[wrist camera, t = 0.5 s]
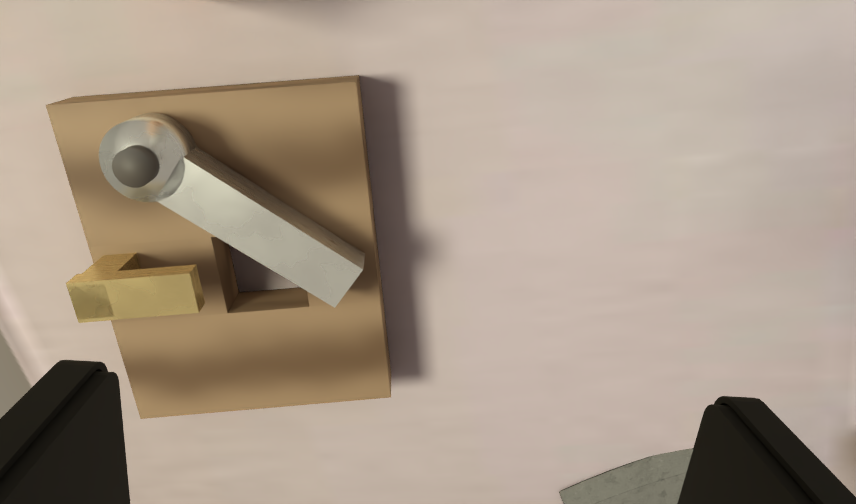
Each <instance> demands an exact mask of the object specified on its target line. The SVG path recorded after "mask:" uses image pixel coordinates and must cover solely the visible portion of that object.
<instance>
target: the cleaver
mask: <svg viewBox="0 0 856 504" xmlns="http://www.w3.org/2000/svg"><path fill="white" fill-rule="evenodd" d="M692 452H693V448H692V449H686V450H680V451H675V452H670V453H664V454H659V455H655V456H651V457H647V458H644V459H641V460H638V461H635V462H632V463H629V464H627V465H624V466H621V467H618V468H616V469H613V470H610V471H608V472H605V473H603V474H600V475H598V476H595V477H593V478H591V479H588V480H586V481H583V482H581V483H579V484H576V485H574V486H572V487H569V488H567V489H565V490H562V491H560V492H559V493H560V496H561V498H562V501H563V503H564V504H677V503H678V500H679V496H680V493H681V490H682V486H683V483H684V479H685V476H686V472H687V469H688V465H689V462H690V459H691V455H692Z"/></svg>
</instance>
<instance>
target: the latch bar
mask: <svg viewBox="0 0 856 504" xmlns="http://www.w3.org/2000/svg"><path fill="white" fill-rule="evenodd" d="M132 145H141V146H144V147H147V148H148V149H150V150H151V151H152V152H153V153H154V154H155V155H156V156H157V158H158V161H159V165H160V168H159V173H158V175H157V176H156V177H155V178H154V179H153V180H152V181H150V182H149V183H148V184H146V185H145V186H142V187H139V188H132V187H128V186H126V185H124V184H122V183H121V182H120V181H119V180H118V179H117V178H116V177H115V175H114V173H113V170H112V161H113V158H114V157H115V155H116V154H117V153H119V152H120V151H122V150H124V149H126V148H127V147H129V146H132ZM99 162H100V166H101V170H102V172H103V174H104V176H105V178H106V179H107V181H108V182H109V183H110V184H111V185H112V187H113V188H114V189H116V190H117V191H118V192H119V193H121V194H122V195H124V196H126V197H128V198H130V199H133V200H136V201H140V202H159V203H160V204H162V205H164V206H165V207H167V208H169V209H170V210H172V211H174V212H175V213H177V214H179V215H180V216H182V217H184V218H185V219H187V220H189V221H190V222H192V223H194V224H195V225H197V226H199V227H201V228H202V229H204V230H206V231H207V232H209V233H211V234H212V235H214V236H216V237H217V238H219V239H221V240H222V241H224V242H226V243H227V244H229V245H231V246H232V247H234V248H236V249H237V250H239V251H241V252H242V253H244V254H246V255H247V256H249V257H251V258H252V259H254V260H256V261H257V262H259V263H261V264H262V265H264V266H266V267H267V268H269V269H271V270H272V271H274V272H276V273H277V274H279V275H281V276H282V277H284V278H286V279H287V280H289V281H291V282H293V283H294V284H296V285H298V286H299V287H301V288H303V289H304V290H306V291H308V292H309V293H311V294H313V295H314V296H316V297H318V298H319V299H321V300H323V301H324V302H326V303H328V304H329V305H331V306H333V307H334V308H335V307H336V306H337V304H338V303H339V302H340V300H341V299H342V298H343V296H344V295H345V294H346V292H347V291H348V289H349V288H350V287H351V285H352V284H353V283H354V281H355V280H356V279H357V277H358V276H359V275H360V273H361V272H362V271H363V267H364V259H365V253H363V252H362V251H360V250H358V249H357V248H355V247H354V246H352V245H351V244H349V243H347V242H346V241H344V240H343V239H341V238H339V237H338V236H336V235H335V234H333V233H332V232H330V231H328V230H327V229H325V228H324V227H322V226H321V225H319V224H317V223H316V222H314V221H313V220H311V219H310V218H308V217H306V216H305V215H303V214H302V213H300V212H298V211H297V210H295V209H294V208H292V207H291V206H289V205H287V204H286V203H284V202H283V201H281V200H280V199H278V198H276V197H275V196H273V195H272V194H270V193H269V192H267V191H265V190H264V189H262V188H261V187H259V186H258V185H256V184H254V183H253V182H251V181H250V180H248V179H246V178H245V177H243V176H242V175H240V174H239V173H237V172H235V171H234V170H232V169H231V168H229V167H228V166H226V165H224V164H223V163H221V162H220V161H218V160H217V159H215V158H213V157H212V156H210V155H209V154H207V153H206V152H204V151H202V150H201V149H199V148H198V147H197V145H196V143H195V140H194V138H193V137H192V135H191V134H190V132H189V131H188V130H187V128H186V127H185V126H183V125H182V124H181V123H180V122H179V121H177V120H175V119H174V118H172V117H170V116H167V115H164V114H160V113H145V114H140V115H138V116H135V117H133V118H131V119H129V120H127V121H124V122H122V123H120V124H118V125H116V126H114V127H113V128H111V129H110V130H109V131H108V132H107V133H106V134H105V136H104V137H103V139H102V141H101V144H100V148H99Z"/></svg>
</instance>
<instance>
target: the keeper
mask: <svg viewBox="0 0 856 504" xmlns="http://www.w3.org/2000/svg"><path fill="white" fill-rule="evenodd" d="M66 285H67V288H68V291H69V294H70V297H71V300H72V303H73V307H74V310H75V313H76V316H77V319H78V322H79V323H82V322H94V321H106V320H118V319H130V318H142V317H154V316H166V315H179V314H191V313H199V312H200V310H201V309H202V307H203V306H204V304H205V300H204V296H203V291H202V287H201V283H200V279H199V274H198V270H197V266H196V265H184V266H172V267H160V268H147V269H141V267H140V264H139V260H138V256H137V253H126V254H114V255H103V256H102V257H101V258H100V259H98V260H97V261H96V262H95V263H94V264H93V265H92V266H90V267H89V268H88V269H87V270H86V271H85V272H84V273H82V274H76V275H75V276H74V277H73V278H72V279H71V280H70V281H68V282H67V283H66Z"/></svg>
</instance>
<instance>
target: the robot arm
mask: <svg viewBox="0 0 856 504" xmlns="http://www.w3.org/2000/svg"><path fill="white" fill-rule="evenodd" d="M0 504H130V497H129V486H128V475H127V464H126V453H125V442H124V432H123V421H122V410H121V399H120V388H119V380H118V376H117V374H116V373H114V372H108V371H107V368H106V366H105V364H104V363H102V362H93V361H74V360H61V361H59V362H58V363H56V364H55V365H54V366H53V367H52V368H51V369H50V370H49V371H48V372H47V373H46V374H45V375H44V376H43V377H42V378H41V379H40V380H39V381H38V382H37V383H36V384H35V385H34V386H33V387H32V388H31V389H30V390H29V391H28V392H27V393H26V394H25V395H24V396H23V397H22V398H21V399H20V400H19V401H18V402H17V403H16V404H15V405H14V406H13V407H12V408H11V409H10V410H9V411H8V412H7V413H6V414H5V415H4V416H3V417H2V418H1V419H0ZM677 504H856V497H855V496H854V495H853V494H852V493H851V492H850V491H849V490H848V489H847V488H846V487H845V486H844V485H843V484H842V483H841V482H840V480H839V479H838V478H837V477H836V476H835V475H834V474H833V473H832V472H831V471H830V470H829V469H828V468H827V467H826V466H825V465H824V464H823V463H822V462H821V461H820V460H819V459H818V458H817V457H816V456H815V455H814V454H813V453H812V452H811V451H810V450H809V449H808V448H807V447H806V446H805V445H804V443H803V442H802V441H801V440H800V439H799V438H798V437H797V436H796V435H795V434H794V433H793V432H792V431H791V430H790V429H789V428H788V427H787V426H786V425H785V424H784V423H783V422H782V421H781V420H780V419H779V418H778V417H777V416H776V415H775V414H774V413H773V412H772V411H771V410H770V409H769V408H768V406H767V405H766V404H765V403H764V402H762V401H761V400H760V399H757V398H747V397H728V396H722V397H719V398H718V399H717V400H716V401H715V403H714V405H712V404H711V405H709V406H707V408H706V409H705V411H704V414H703V417H702V421H701V424H700V428H699V431H698V434H697V438H696V441H695V445H694V448H693V452H692V455H691V459H690V462H689V465H688V469H687V472H686V476H685V479H684V483H683V486H682V490H681V493H680V496H679V500H678V503H677Z"/></svg>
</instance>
